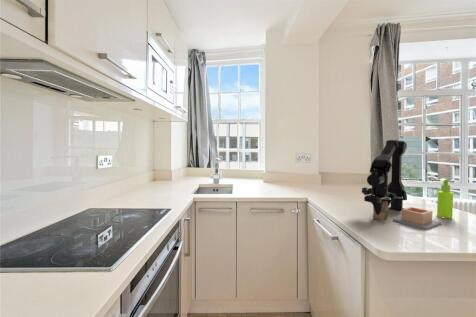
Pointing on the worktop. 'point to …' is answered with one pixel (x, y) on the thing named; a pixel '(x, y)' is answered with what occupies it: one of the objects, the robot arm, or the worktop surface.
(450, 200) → the soap dispenser
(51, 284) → the worktop surface
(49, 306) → the worktop surface
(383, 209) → the walnut block
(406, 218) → the terracotta well
